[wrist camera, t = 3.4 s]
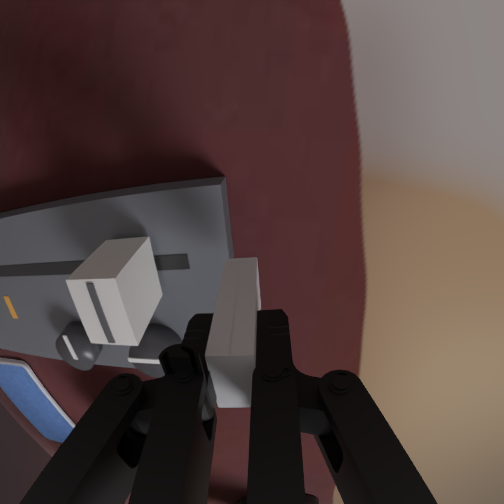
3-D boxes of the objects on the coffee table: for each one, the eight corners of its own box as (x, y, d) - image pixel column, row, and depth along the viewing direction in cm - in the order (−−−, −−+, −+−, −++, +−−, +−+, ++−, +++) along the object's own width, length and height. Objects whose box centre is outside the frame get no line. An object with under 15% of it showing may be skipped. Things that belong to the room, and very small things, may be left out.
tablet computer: (100, 446, 36) (98, 452, 35) (48, 434, 37) (45, 440, 36) (28, 357, 28) (23, 364, 27) (-18, 353, 29) (-22, 358, 28)
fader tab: (162, 294, 19) (137, 347, 14) (121, 295, 19) (90, 344, 15) (149, 236, 17) (114, 279, 13) (106, 240, 18) (64, 280, 13)
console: (245, 349, 25) (242, 400, 20) (7, 335, 26) (-16, 364, 21) (225, 176, 19) (212, 198, 14) (-37, 223, 20) (-72, 244, 15)
